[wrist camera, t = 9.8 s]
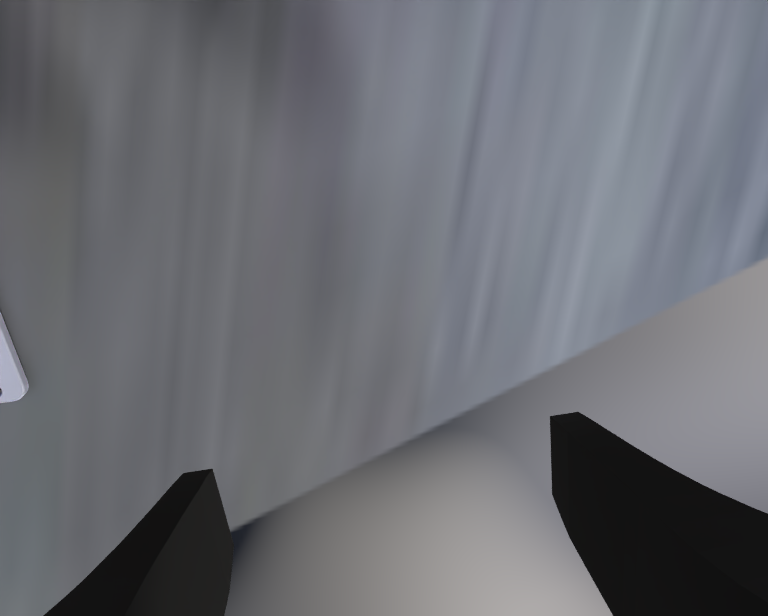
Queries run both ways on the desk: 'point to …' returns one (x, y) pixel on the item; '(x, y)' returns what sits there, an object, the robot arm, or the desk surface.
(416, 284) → the desk surface
